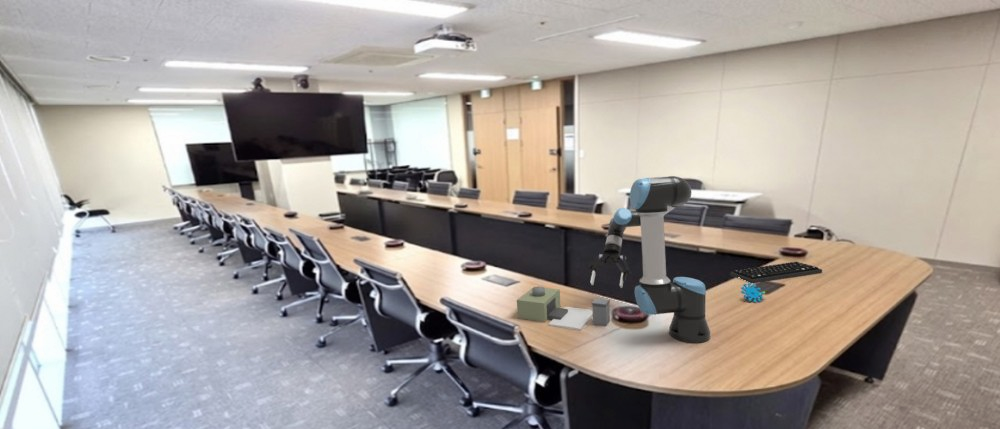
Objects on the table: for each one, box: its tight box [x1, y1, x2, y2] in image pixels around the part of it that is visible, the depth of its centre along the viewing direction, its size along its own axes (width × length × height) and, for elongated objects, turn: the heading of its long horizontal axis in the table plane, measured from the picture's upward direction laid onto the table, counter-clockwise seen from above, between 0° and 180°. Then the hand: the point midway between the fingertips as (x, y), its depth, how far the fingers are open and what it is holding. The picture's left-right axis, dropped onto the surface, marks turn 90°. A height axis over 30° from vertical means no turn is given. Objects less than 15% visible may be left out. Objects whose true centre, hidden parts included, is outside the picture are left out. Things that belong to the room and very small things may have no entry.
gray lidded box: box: [591, 297, 611, 327], centre depth 185 cm, size 6×6×10 cm
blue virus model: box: [740, 282, 766, 303], centre depth 200 cm, size 11×6×10 cm
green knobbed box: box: [516, 286, 593, 331], centre depth 196 cm, size 32×23×12 cm
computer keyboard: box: [729, 261, 823, 284], centre depth 233 cm, size 45×16×4 cm, turn 102°
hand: (606, 285), depth 192 cm, fingers open, 13 cm apart
